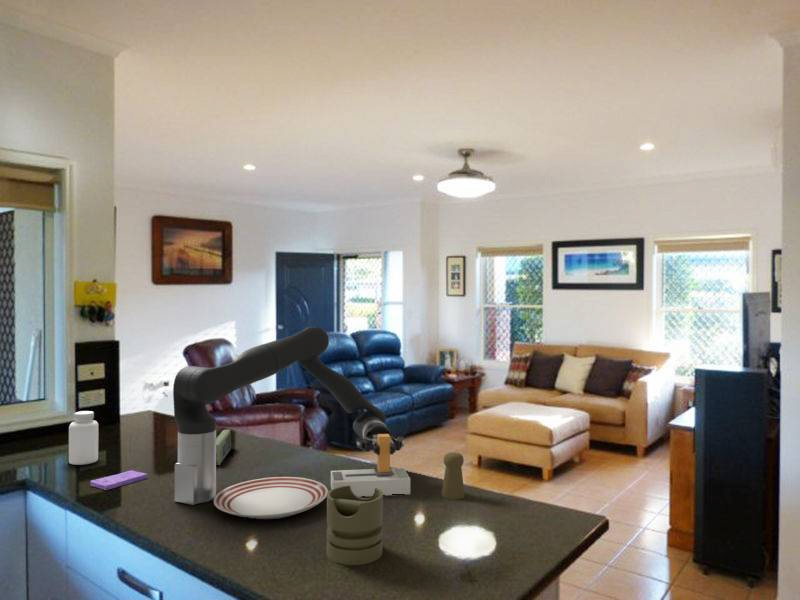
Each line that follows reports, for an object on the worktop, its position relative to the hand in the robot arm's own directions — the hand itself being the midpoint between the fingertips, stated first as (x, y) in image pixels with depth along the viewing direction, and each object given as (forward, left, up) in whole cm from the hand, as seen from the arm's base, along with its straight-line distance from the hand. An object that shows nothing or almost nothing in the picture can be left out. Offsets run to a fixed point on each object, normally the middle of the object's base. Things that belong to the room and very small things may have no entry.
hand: (385, 450), depth 161 cm
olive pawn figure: (+6, -17, -11) cm, 21 cm away
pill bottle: (-14, +94, -11) cm, 96 cm away
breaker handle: (+2, +2, -7) cm, 7 cm away
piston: (-35, -10, -11) cm, 38 cm away
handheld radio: (+6, +59, -11) cm, 61 cm away
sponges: (-23, +69, -12) cm, 74 cm away
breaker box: (0, +5, -11) cm, 12 cm away
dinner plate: (-20, +21, -11) cm, 32 cm away
